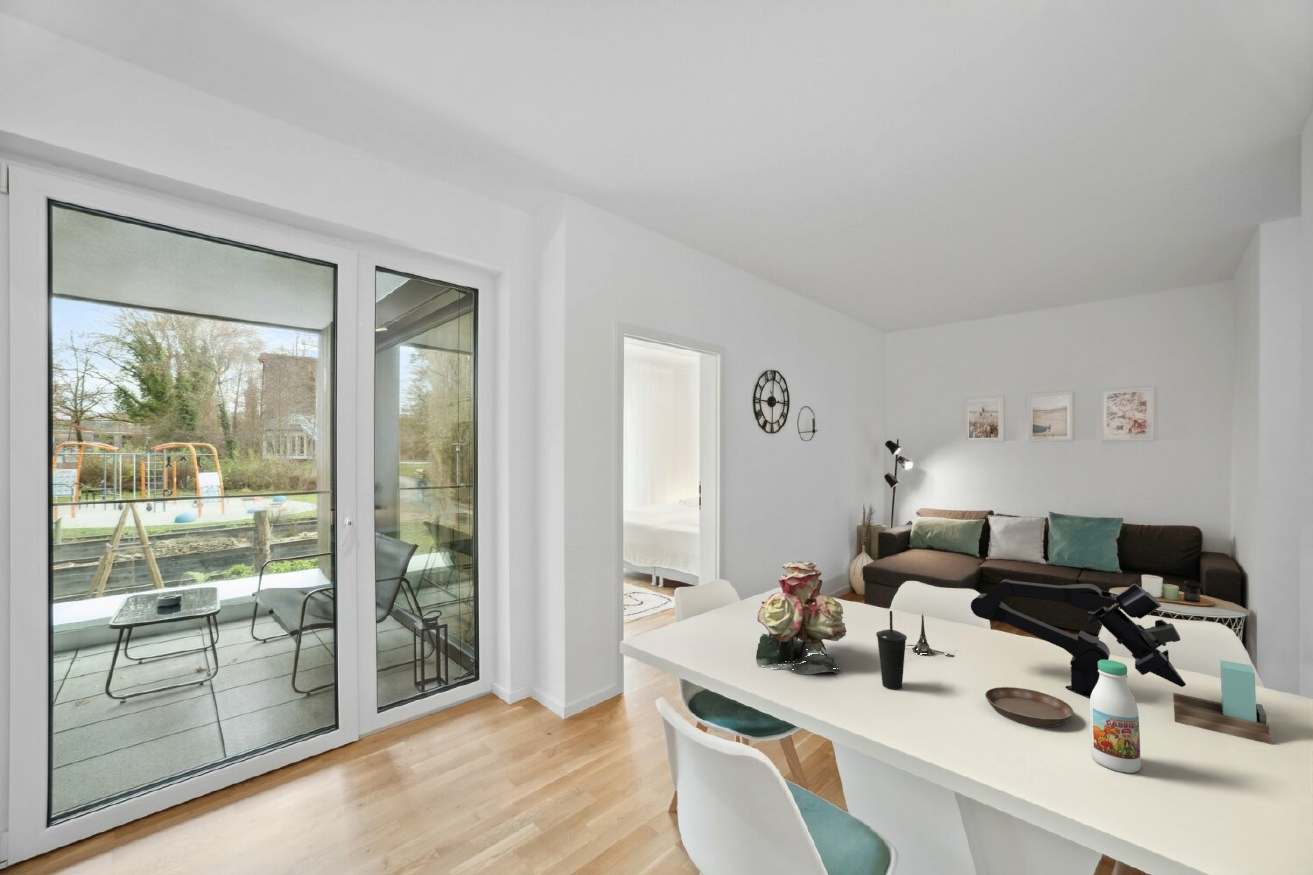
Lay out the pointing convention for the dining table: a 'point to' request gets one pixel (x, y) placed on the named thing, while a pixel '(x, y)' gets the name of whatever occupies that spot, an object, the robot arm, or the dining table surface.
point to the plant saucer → (1029, 706)
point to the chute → (1219, 718)
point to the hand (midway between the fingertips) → (1184, 685)
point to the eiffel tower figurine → (925, 644)
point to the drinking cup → (891, 656)
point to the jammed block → (1238, 690)
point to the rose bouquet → (799, 623)
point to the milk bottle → (1114, 720)
